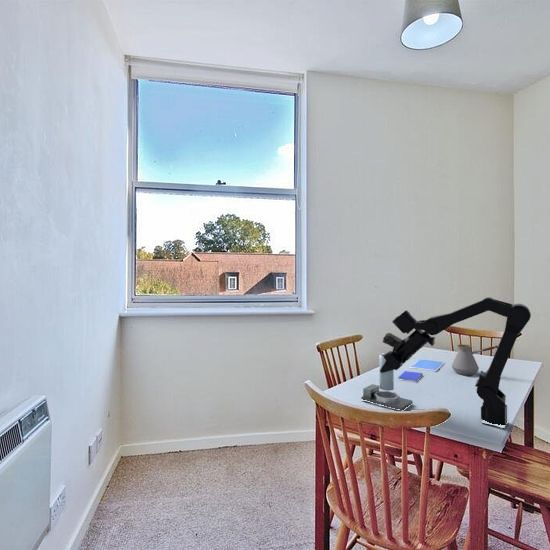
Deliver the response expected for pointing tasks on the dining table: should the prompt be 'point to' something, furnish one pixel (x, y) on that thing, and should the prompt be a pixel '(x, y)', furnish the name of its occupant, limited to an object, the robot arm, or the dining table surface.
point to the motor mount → (385, 397)
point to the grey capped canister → (385, 375)
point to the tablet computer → (427, 365)
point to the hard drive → (410, 376)
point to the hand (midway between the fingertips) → (382, 370)
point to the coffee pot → (466, 360)
